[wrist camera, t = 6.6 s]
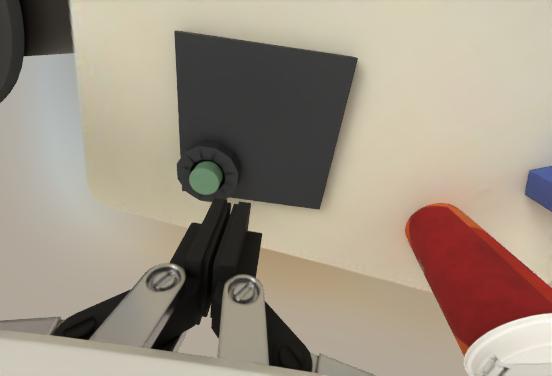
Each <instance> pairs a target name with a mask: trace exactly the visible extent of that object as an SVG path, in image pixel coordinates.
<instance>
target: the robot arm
mask: <svg viewBox="0 0 552 376" xmlns="http://www.w3.org/2000/svg"><path fill="white" fill-rule="evenodd" d="M250 208H251V203H246V202H240V201H239V204H234V206H233V209H232V211H231V203H227V199H221V198H214V200H213V202H212V204H211V206H210V208H209V210H208V212H207V215H206V217H205V219H204V221H203V223H202V224H199V223H191V225H190V226H189V228H188V230H187V232H186V234H185V236H184V238H183V239H182V241H181V243H180V245H179V247H178V248H177V250H176V252H175V254H174V256H173V258H172V259H171V261H170V263H164V264H159V265H157V266H154V267H152V268H150V269H149V270H148V271H147V272H146V273H145V274H144V275H143V277H141V279H140V280H139V281H138V282H137V283H136V285H135V286H134V287H133V288H132V289H131V290H129V291H126V292H124V293H122V294H119V295H117V296H115V297H112V298H110V299H108V300H106V301H103V302H101V303H99V304H96V305H94V306H92V307H90V308H87V309H85V310H83V311H81V312H78V313H76V314H74V315H72V316H71V317H69V318H67V319H66V320H61V317H49V318H34V319H19V320H5V321H0V376H375V375H373V374H371V373H369V372H366V371H363V370H361V369H358V368H356V367H353V366H350V365H348V364H345V363H343V362H340V361H338V360H335V359H332V358H330V357H327V356H325V355H323V354H319V356H317V355H314V354H311V353H310V352H309V350H308V349H307V348H306V346H305V345H304V344H303V343H302V342H301V341H300V340H299V338H298V337H297V336H296V335H295V334H294V333H293V332H292V331H291V329H290V328H289V327H288V326H287V325H286V324H285V323H284V322H283V321H282V320H281V319H280V317H279V316H278V315H277V314H276V313H275V312H274V311H273V310H272V308H271V307H270V306H269V305H268V304H267V303H266V302H265V300H264V289H263V286H262V284H261V283H260V281H259V280H258V279H256V272H257V265H258V259H259V252H260V245H261V239H262V233H257V232H251V231H248V223H249V215H250ZM230 211H231V214H230ZM210 305H211V318H212V327H211V328H212V329H213V331H214V332H215V334H216V335H217V337H218V338H219V344H218V355H217V356H218V357H217V358H213V357H206V356H199V355H191V354H185V353H178V352H177V351H178V349H179V347H180V345H181V343H182V342H183V340H184V338H185V335H186V331H187V330H188V329H190V328H192V327H193V326H195V324H197V325H199V324H200V321H201V318H202V316H203V317H207V315H208V312H209V308H210Z"/></svg>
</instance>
